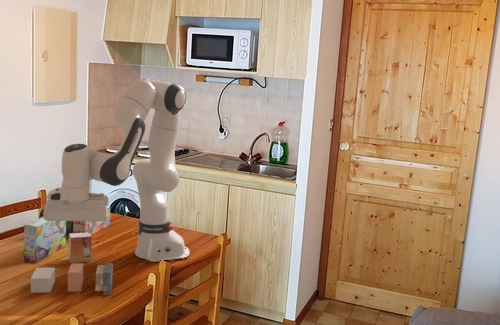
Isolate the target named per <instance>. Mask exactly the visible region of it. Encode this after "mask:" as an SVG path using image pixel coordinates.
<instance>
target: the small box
mask: <svg viewBox="0 0 500 325" xmlns="http://www.w3.org/2000/svg"><path fill="white" fill-rule="evenodd" d="M68 234H69V235H68V260H69V264H80V263H89V262H92V246H93V244H92V240H93V238H92V236H93V235H91V234H90V233H88V232H87V233H73V232H71V233H68Z"/></svg>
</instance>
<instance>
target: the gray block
mask: <svg viewBox="0 0 500 325" xmlns="http://www.w3.org/2000/svg"><path fill="white" fill-rule="evenodd" d="M55 282H56V268H55V267H36V268H35V270H34V272H33V273H32V275H31V277H30V293H31V294H33V293H38V294H39V293H43V294H44V293H51V290H52V289H53V286H54V284H55Z"/></svg>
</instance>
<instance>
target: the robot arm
mask: <svg viewBox="0 0 500 325" xmlns="http://www.w3.org/2000/svg"><path fill="white" fill-rule="evenodd" d="M186 100H187V93H186V91H185V89H184V87H182V86H181V85H179V84H176V83H172V82H168V81H164V80H163V81H162V80H154V79H149V78H143V79H138V80H136V81H134V82H133V83H132V84H131V85H130V86H129V87H128V88H127V90H125V92H124V93H123V95H122V96H121V98H120V99H119V100H118V102H117V103H116V105H115V106H114V111H113V116H114V119H115V121H116V123H117V124H118V126H120V128H121V129H123V130H124V131H125V133H124V137H123V138H122V141H121V144H120V145H119V147H118V150H117V151H116V152H115V153H113V154H109V153H106V152H105V153H104V152H101V151H97V150H94V149H92V148H90V147H89V146H88V145H87V144H85V143H73V144H70V145H67V146H65V148H64V150H63V151H62V156H61V175H62V181H61V186H60V187H57V188H56V187H55V188H53V189H51V190H50V191H49V192H48V193H47V195H46V199H47V200H46V201H45V203H44V207H43V208H44V219H45V220H46V221H55V225H56V226H57V228H58V229H59V233H64V227H61V225H60V222H61V221H92V224H93V225H92V227H89V228H88V233H93V228H94V226H95V225H96V223H97V221H105V220H106V219H107V206H108V205H109V197H108V196H107V194H104V193H102V192H101V193H97V192H96V193H95V192H92V193H91V183H90V181H91V180H95V181H98V182H102V183H105V184H107V185H110V186H113V187H115V186H116V187H118V186H120V185H122V184H123V183H124V182H125V181H126V180H127V179H128V177H129V175H130V172H131V168H132V175H133V177H134V179H135V182H136V185H137V191H138V198H139V202H140V203H139V204H140V207H139V208H140V209H139V220H138V228H137V229H138V230H137V231H138V232H137V233H138V239H137V244H136V249H135V251H134V254H135V256H137V258H140V259H144V260H147V261H148V262H152V263H155V262H161V261H160V260H170V261H172V260H171V259H179V258H184V257H187V256H189V254H190V249H189V247H187V246H185V241H184V238H183V237H182V236H181V235H180V234H179V233H177V232H176V231H175V230H174V225H173V222H172V221H171V220H168V209H169V207H168V206H169V203H168V200H167V198H166V195H165V193H171V192H173V191H175V189H176V188H177V187H178V185H179V183H180V175H179V173H178V171H177V168H176V166H177V165H176V156H175V155H176V152H175V151H176V146H177V139H178V134H179V128H180V122H181V121H180V120H181V110H182V109H183V107H184V106H185V104H186ZM151 109H154V114H153V116H152V121H151V126H150V130H149V135H148V140H147V148H148V150H149V156H150V158H143V159H138V161H136V162H135V163H134V164H133V167H132V163H133V162H134V159H135V157H136V155H137V151H138V150H139V147H140V145H141V143H142V140H143V137H144V135H145V131H146V124H145V120H146V117H147V116H148V114H149V113H150V111H151ZM185 248H186V249H185ZM189 257H190V256H189Z"/></svg>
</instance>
